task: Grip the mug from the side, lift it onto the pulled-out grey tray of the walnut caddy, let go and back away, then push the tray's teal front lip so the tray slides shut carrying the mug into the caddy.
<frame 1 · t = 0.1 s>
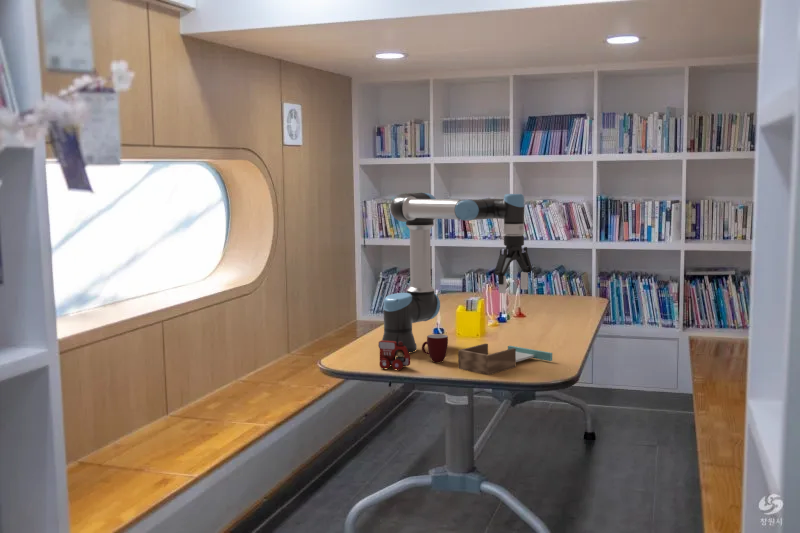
hand: (513, 291, 301), 28 cm above the table, tool pointing down, fingers open, 13 cm apart
mug: (434, 361, 310), on the table
caddy: (487, 367, 298), on the table
tray: (518, 356, 307), point 2 cm above the table, slide at 14.0 cm
toy fire truck: (394, 368, 300), on the table
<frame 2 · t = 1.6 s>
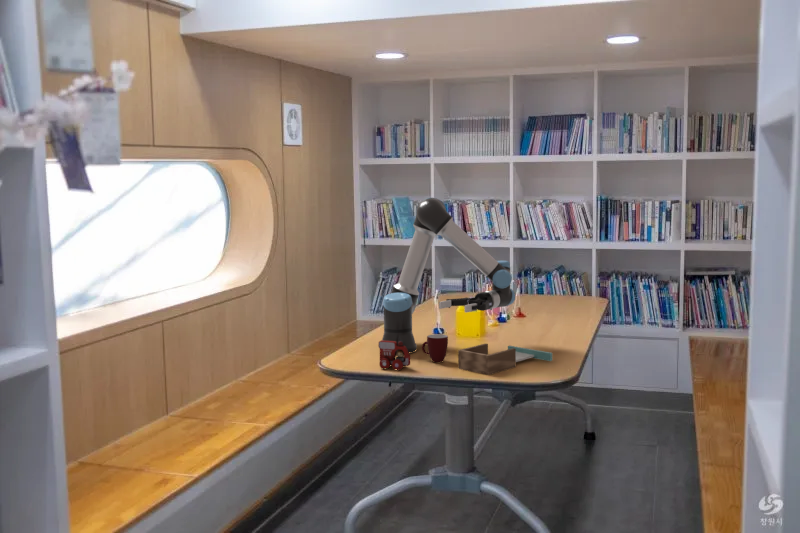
hand: (452, 307, 315), 20 cm above the table, tool horizontal, fingers open, 13 cm apart
nothing on the table moved.
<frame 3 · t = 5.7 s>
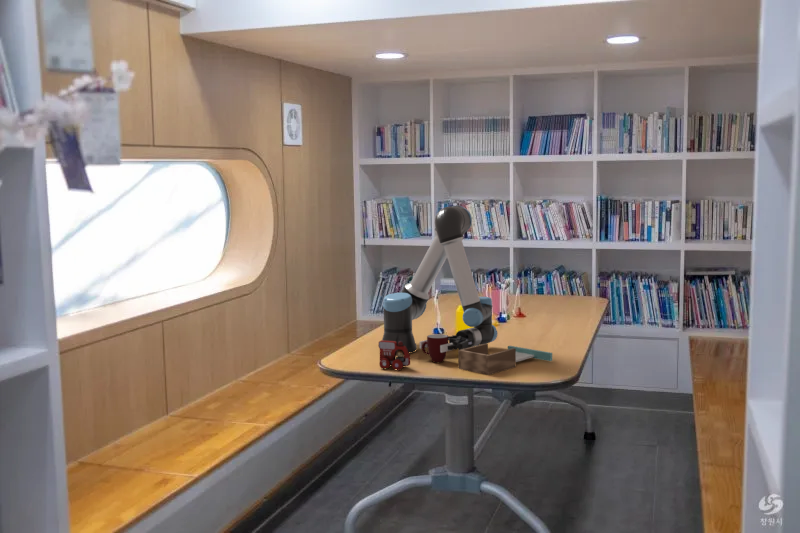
hand: (430, 347, 308), 6 cm above the table, tool horizontal, fingers closed on mug, 10 cm apart
mug: (434, 361, 310), on the table, touching gripper
everything else where it was.
when the fingers open (10 cm above the table, at t = 12.5 s): mug drops 1 cm, resting on tray.
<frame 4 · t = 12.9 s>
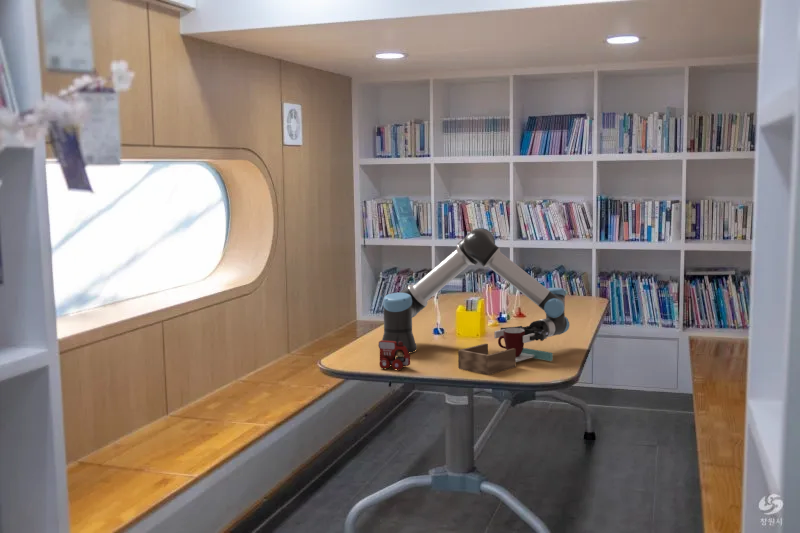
hand: (509, 337, 306), 10 cm above the table, tool horizontal, fingers open, 13 cm apart
mug: (511, 355, 308), point 2 cm above the table, touching tray
tray: (518, 356, 307), point 2 cm above the table, slide at 14.1 cm, touching mug
everything else where it was.
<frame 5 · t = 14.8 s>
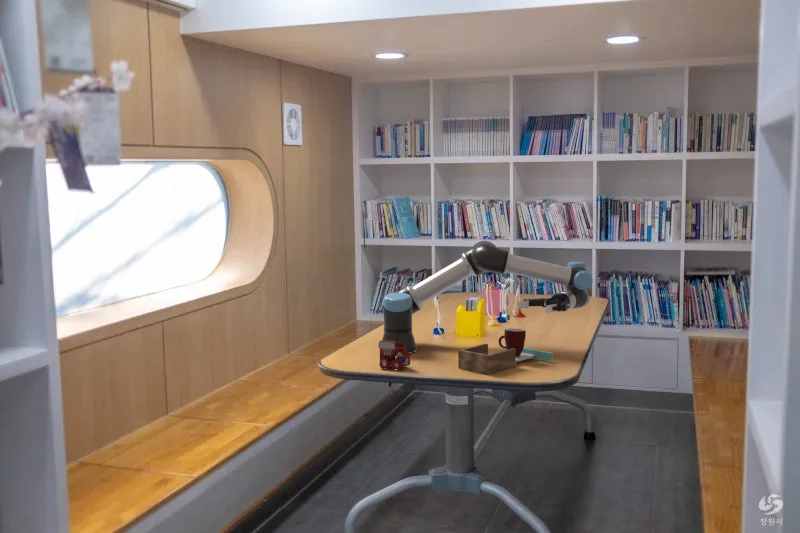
hand: (532, 307, 316), 19 cm above the table, tool horizontal, fingers open, 13 cm apart
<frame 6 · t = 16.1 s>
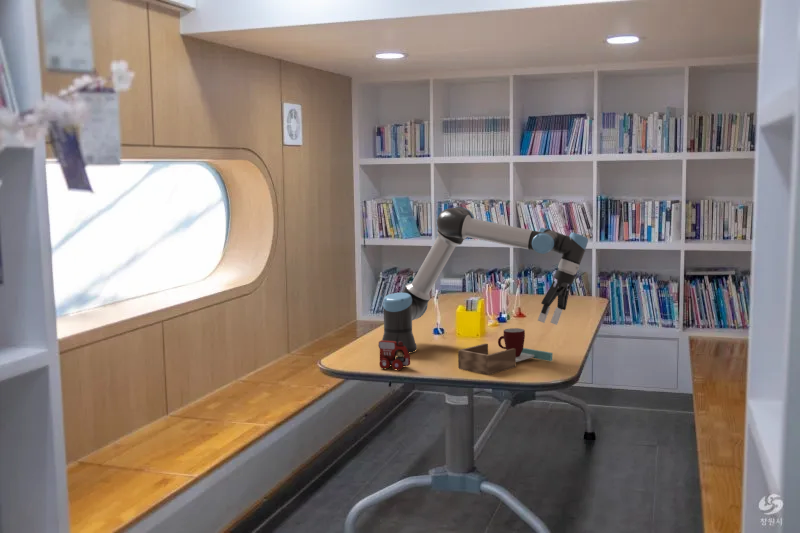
hand: (547, 322, 314), 14 cm above the table, tool tilted 20°, fingers open, 13 cm apart
nothing on the table moved.
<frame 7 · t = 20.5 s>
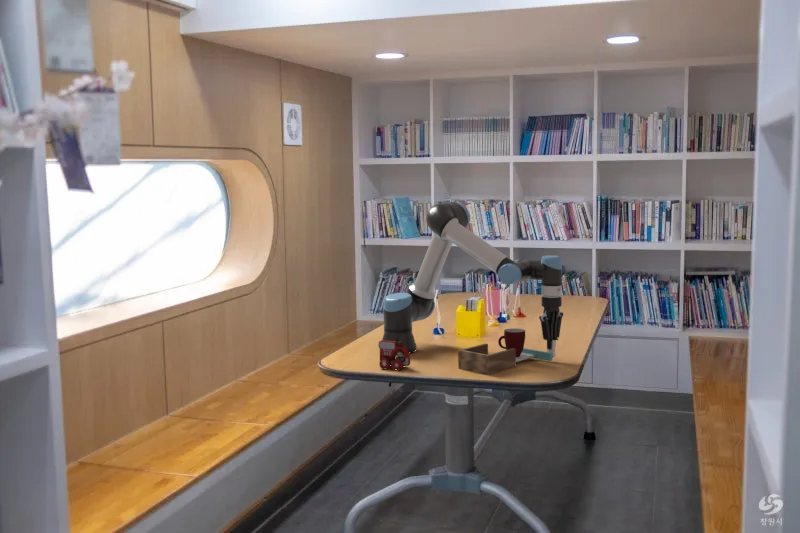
hand: (551, 356, 306), 2 cm above the table, tool pointing down, fingers closed
tray: (518, 356, 307), point 2 cm above the table, slide at 14.1 cm, touching gripper, mug
everything else where it was.
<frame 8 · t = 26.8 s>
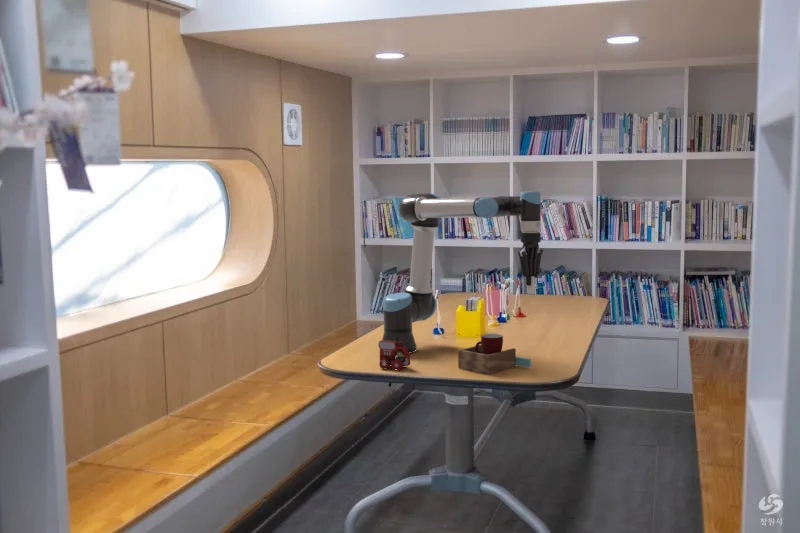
hand: (530, 293, 304), 26 cm above the table, tool pointing down, fingers closed
mug: (488, 362, 298), point 2 cm above the table, touching tray
tray: (495, 362, 297), point 2 cm above the table, slide at 0.2 cm, touching mug
everything else where it was.
at the end: tray slide at 0.2 cm; mug inside the target area on the caddy (0.5 cm from its centre), point 1.9 cm above the caddy's base; mug tilted 0° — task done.
